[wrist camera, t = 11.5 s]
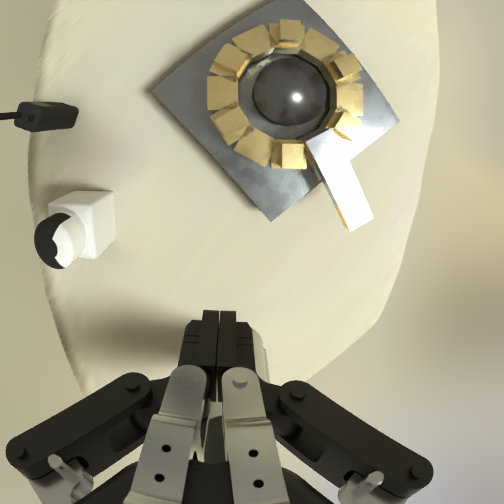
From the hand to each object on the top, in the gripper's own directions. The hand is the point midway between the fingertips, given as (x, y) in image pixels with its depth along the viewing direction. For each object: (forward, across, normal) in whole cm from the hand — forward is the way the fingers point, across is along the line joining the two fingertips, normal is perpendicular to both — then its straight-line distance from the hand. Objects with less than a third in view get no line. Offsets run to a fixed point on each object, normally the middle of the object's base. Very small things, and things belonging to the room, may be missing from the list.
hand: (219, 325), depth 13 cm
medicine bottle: (+26, +20, +2) cm, 33 cm away
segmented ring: (+20, -7, -10) cm, 24 cm away
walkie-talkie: (+26, +24, -12) cm, 38 cm away
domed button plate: (+25, -5, -13) cm, 29 cm away
